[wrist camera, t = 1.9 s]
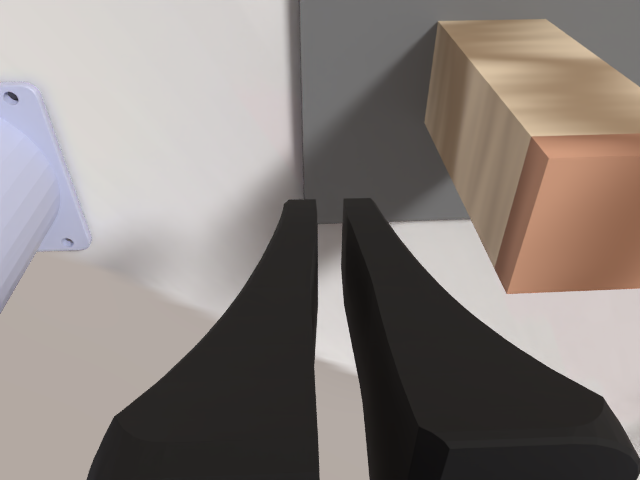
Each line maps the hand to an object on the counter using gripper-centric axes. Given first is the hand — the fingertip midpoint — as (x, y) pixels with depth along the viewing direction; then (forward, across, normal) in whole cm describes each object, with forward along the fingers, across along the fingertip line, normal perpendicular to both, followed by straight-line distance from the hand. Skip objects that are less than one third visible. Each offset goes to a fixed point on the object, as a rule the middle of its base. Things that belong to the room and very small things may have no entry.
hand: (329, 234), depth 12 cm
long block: (+10, -6, 0) cm, 12 cm away
